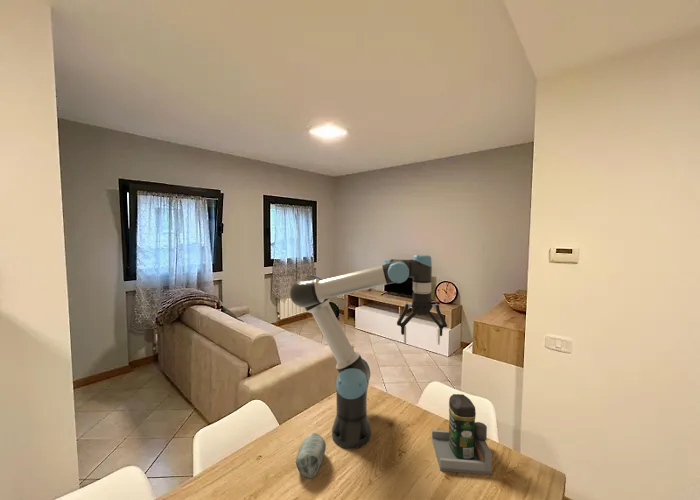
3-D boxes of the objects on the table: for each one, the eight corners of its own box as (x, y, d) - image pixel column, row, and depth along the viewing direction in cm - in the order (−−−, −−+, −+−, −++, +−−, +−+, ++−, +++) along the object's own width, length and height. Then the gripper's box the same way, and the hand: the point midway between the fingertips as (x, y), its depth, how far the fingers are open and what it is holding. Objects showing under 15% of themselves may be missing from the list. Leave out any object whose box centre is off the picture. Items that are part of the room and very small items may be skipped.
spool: (322, 476, 85) (310, 441, 88) (295, 487, 87) (284, 452, 90) (335, 455, 98) (325, 425, 101) (312, 465, 99) (302, 434, 102)
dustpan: (440, 470, 92) (440, 437, 91) (431, 438, 107) (431, 410, 106) (494, 475, 90) (495, 441, 90) (478, 442, 105) (478, 413, 105)
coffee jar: (445, 440, 104) (446, 391, 104) (467, 441, 104) (468, 391, 103) (454, 461, 95) (455, 406, 94) (478, 461, 94) (479, 407, 94)
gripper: (450, 291, 119) (449, 340, 120) (391, 289, 121) (390, 338, 122) (455, 294, 112) (454, 347, 112) (391, 293, 114) (391, 344, 115)
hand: (421, 342), depth 117 cm, fingers open, 13 cm apart
